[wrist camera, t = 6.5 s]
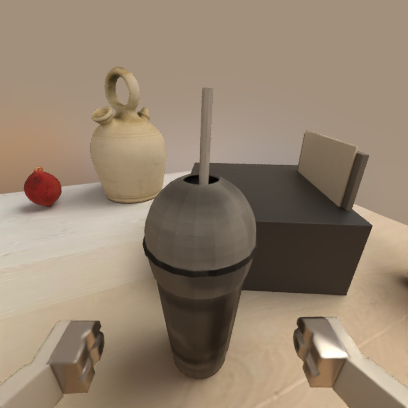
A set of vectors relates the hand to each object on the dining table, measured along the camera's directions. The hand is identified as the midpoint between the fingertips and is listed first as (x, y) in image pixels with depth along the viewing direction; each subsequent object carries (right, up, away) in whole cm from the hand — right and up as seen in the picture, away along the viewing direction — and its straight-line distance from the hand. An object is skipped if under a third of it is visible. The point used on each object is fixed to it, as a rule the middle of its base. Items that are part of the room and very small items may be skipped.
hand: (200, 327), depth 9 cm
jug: (-16, +8, +42) cm, 46 cm away
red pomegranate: (-31, +5, +35) cm, 47 cm away
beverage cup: (0, -8, +10) cm, 13 cm away
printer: (+7, 0, +26) cm, 27 cm away
